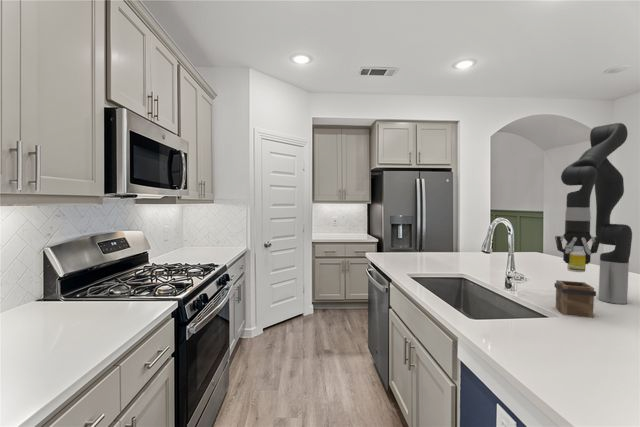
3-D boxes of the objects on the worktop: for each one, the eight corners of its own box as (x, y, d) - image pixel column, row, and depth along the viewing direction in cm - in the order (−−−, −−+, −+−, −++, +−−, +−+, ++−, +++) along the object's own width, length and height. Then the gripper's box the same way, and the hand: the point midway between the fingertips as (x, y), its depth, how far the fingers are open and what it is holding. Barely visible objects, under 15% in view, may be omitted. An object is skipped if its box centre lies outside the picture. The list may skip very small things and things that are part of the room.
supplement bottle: (588, 272, 122) (589, 246, 121) (572, 272, 123) (573, 246, 122) (580, 269, 127) (580, 244, 127) (564, 269, 128) (565, 244, 128)
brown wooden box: (553, 306, 132) (554, 279, 132) (584, 309, 129) (585, 282, 128) (561, 314, 123) (562, 285, 123) (595, 318, 119) (596, 288, 119)
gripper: (596, 219, 125) (595, 262, 126) (552, 218, 130) (551, 260, 131) (605, 220, 118) (604, 266, 119) (558, 219, 123) (557, 264, 124)
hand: (576, 263), depth 125 cm, fingers closed on supplement bottle, 5 cm apart
